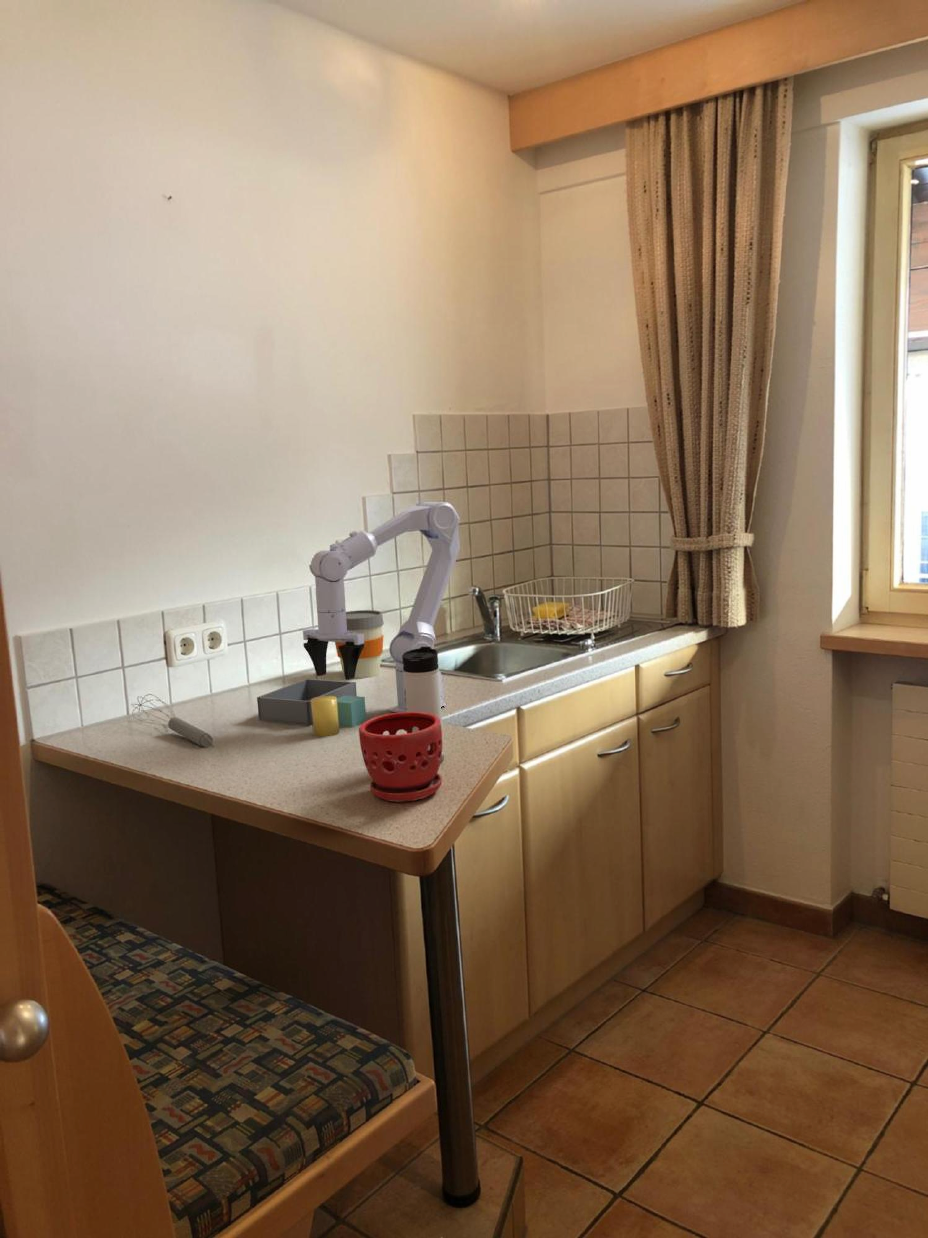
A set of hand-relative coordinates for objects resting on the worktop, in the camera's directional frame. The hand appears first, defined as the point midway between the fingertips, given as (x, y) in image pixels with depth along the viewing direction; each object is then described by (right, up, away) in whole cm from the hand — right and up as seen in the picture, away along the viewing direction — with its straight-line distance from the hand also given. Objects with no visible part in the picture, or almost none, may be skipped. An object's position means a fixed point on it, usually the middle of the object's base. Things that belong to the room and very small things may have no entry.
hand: (335, 676), depth 206 cm
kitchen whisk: (-33, -12, +2) cm, 35 cm away
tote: (-7, -8, +12) cm, 16 cm away
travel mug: (+19, -14, -26) cm, 35 cm away
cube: (+3, -10, +2) cm, 10 cm away
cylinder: (-1, -11, -5) cm, 12 cm away
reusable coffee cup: (+1, -2, +45) cm, 45 cm away
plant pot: (+16, -17, -42) cm, 48 cm away
